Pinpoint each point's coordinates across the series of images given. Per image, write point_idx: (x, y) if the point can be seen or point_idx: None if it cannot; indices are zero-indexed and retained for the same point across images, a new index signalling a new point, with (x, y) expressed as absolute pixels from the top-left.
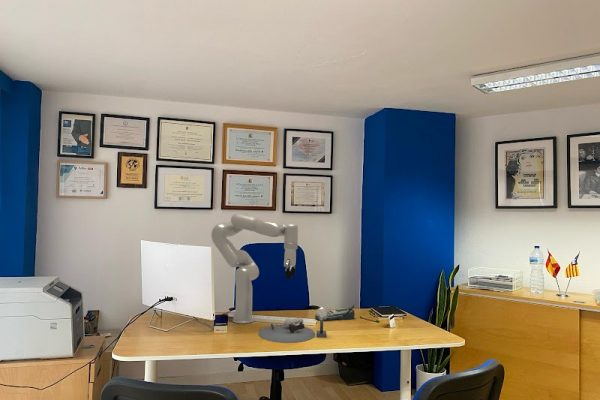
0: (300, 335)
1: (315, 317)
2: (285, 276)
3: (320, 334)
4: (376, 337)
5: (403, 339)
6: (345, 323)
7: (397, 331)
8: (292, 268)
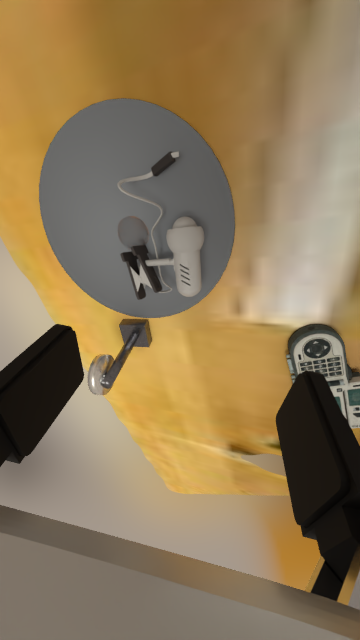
0: (121, 278)
1: (311, 328)
2: (44, 335)
3: (122, 332)
4: (159, 419)
5: (159, 446)
6: (259, 391)
7: (204, 452)
8: (322, 520)
